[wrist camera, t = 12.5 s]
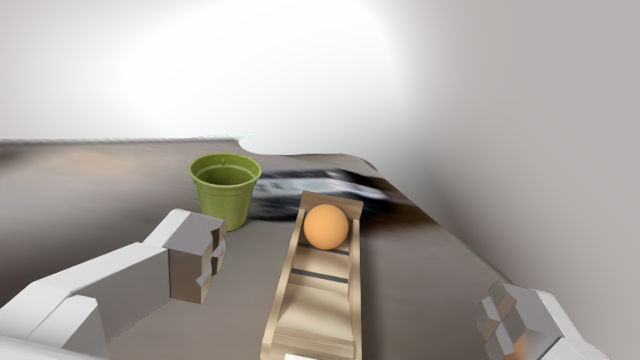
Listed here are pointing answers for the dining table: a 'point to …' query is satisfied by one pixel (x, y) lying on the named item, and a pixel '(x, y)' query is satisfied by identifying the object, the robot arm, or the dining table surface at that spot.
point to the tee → (296, 357)
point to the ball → (326, 226)
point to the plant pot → (225, 185)
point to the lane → (318, 293)
